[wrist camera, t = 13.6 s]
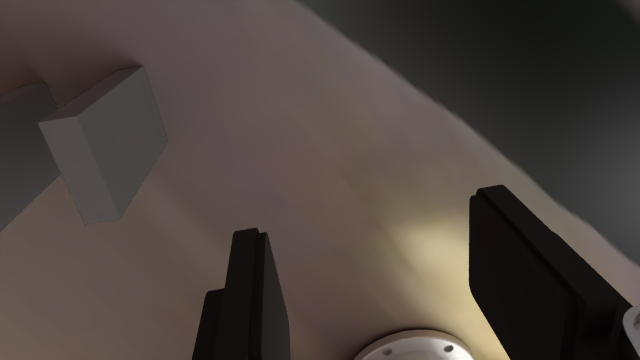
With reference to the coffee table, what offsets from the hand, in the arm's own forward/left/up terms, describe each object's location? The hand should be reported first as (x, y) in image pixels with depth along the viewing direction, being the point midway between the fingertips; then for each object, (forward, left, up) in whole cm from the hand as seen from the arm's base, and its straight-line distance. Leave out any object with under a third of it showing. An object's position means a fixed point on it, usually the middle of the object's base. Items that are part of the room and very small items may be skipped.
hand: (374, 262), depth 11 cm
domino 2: (+4, +10, -19) cm, 22 cm away
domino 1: (+6, +16, -19) cm, 26 cm away
